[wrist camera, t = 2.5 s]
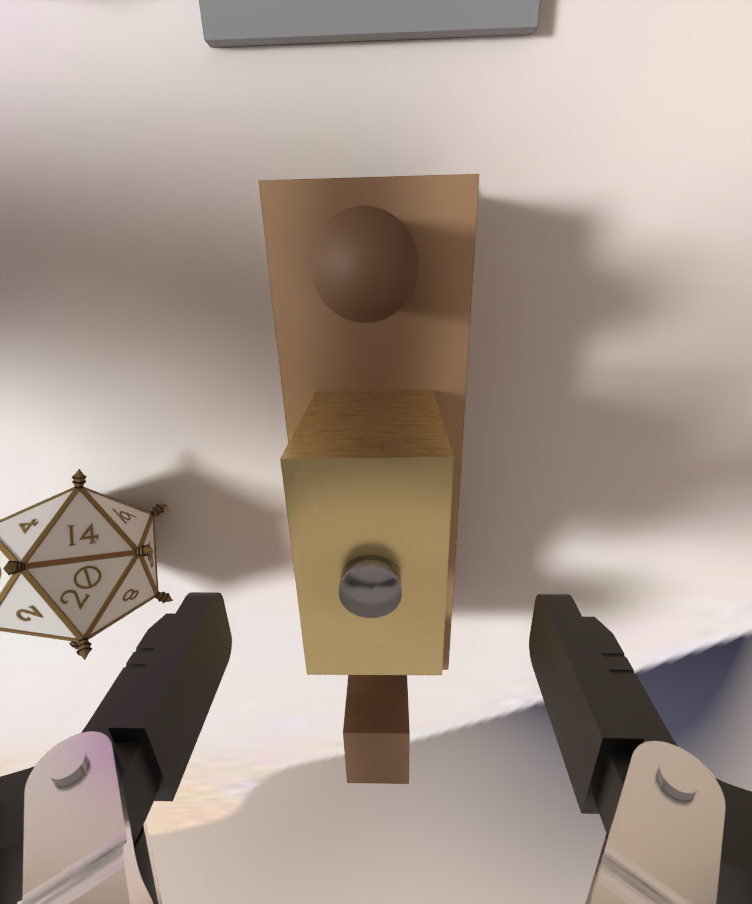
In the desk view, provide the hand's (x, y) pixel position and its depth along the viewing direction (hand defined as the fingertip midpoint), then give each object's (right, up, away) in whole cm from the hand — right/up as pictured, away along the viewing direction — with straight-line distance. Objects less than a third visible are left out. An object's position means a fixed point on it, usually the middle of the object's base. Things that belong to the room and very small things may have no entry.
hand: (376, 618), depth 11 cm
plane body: (0, +5, +12) cm, 13 cm away
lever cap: (0, +3, +7) cm, 8 cm away
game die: (-15, 0, +15) cm, 21 cm away
